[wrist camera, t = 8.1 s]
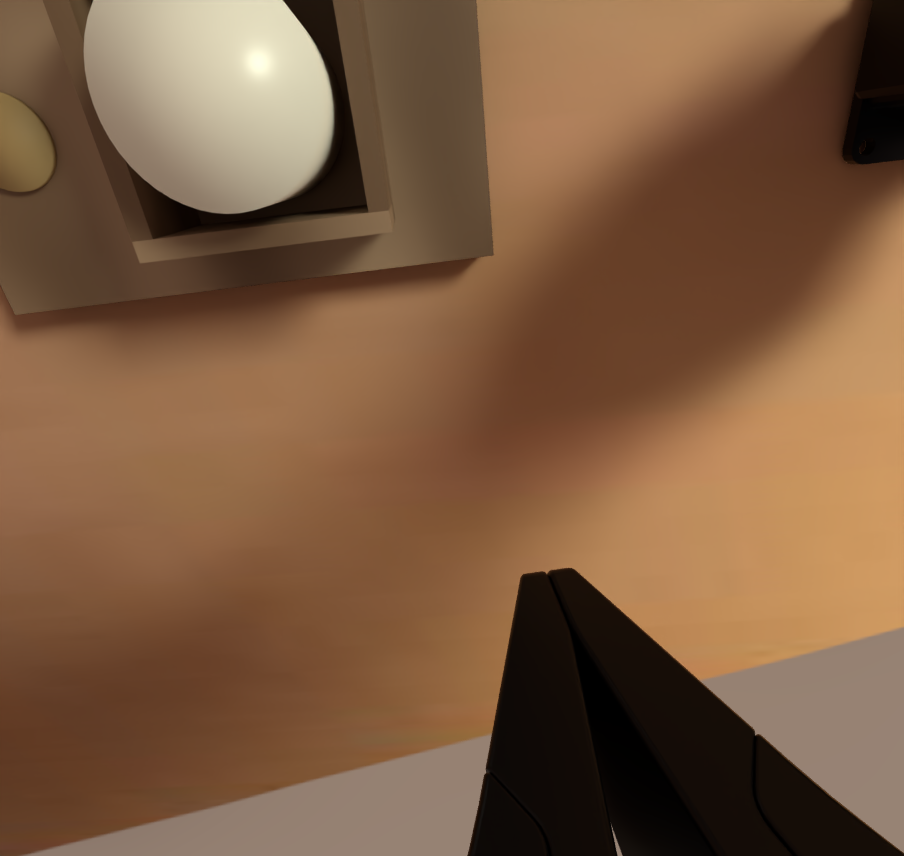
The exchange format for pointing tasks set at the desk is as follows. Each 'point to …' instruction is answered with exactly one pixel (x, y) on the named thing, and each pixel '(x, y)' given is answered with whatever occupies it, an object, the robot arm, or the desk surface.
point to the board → (263, 230)
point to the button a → (214, 99)
